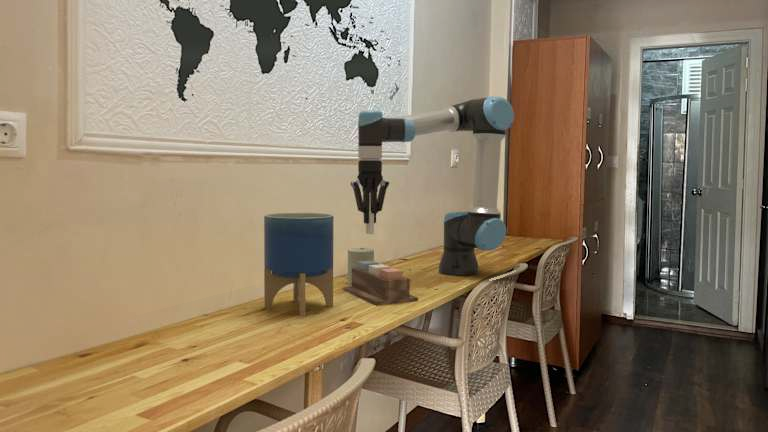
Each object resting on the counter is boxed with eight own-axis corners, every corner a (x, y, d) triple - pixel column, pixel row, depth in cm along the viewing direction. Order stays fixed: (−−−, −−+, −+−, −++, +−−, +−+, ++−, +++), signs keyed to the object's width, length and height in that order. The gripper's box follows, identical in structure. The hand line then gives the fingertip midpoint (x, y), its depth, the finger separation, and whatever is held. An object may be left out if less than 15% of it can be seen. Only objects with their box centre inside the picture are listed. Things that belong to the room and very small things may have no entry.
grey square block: (371, 280, 202) (371, 260, 201) (378, 282, 197) (378, 262, 197) (357, 281, 199) (357, 261, 199) (364, 284, 195) (364, 263, 194)
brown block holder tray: (381, 286, 205) (381, 265, 205) (418, 301, 184) (418, 277, 183) (343, 289, 199) (343, 268, 198) (376, 305, 178) (376, 281, 177)
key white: (382, 284, 195) (382, 264, 194) (390, 287, 190) (390, 266, 190) (368, 285, 192) (368, 265, 192) (375, 288, 188) (375, 267, 187)
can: (375, 281, 215) (375, 246, 214) (372, 286, 206) (372, 250, 205) (349, 280, 216) (349, 246, 215) (345, 285, 206) (345, 249, 205)
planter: (327, 298, 186) (328, 212, 184) (338, 314, 167) (338, 217, 165) (262, 301, 181) (262, 212, 179) (266, 317, 163) (265, 218, 160)
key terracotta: (394, 289, 188) (395, 268, 187) (402, 292, 183) (402, 270, 183) (380, 290, 185) (380, 269, 185) (387, 293, 181) (388, 272, 180)
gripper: (382, 160, 202) (382, 231, 204) (346, 159, 196) (346, 233, 198) (393, 160, 195) (393, 233, 197) (356, 159, 189) (356, 236, 191)
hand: (369, 233), depth 197 cm, fingers closed
